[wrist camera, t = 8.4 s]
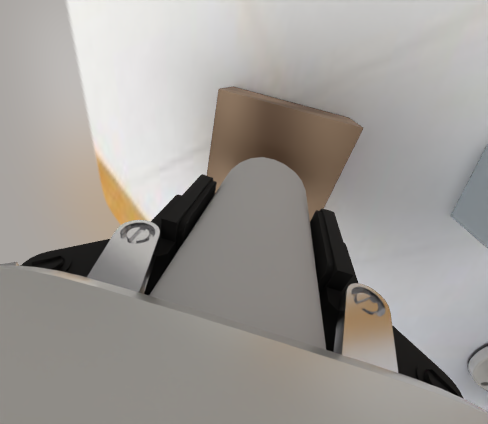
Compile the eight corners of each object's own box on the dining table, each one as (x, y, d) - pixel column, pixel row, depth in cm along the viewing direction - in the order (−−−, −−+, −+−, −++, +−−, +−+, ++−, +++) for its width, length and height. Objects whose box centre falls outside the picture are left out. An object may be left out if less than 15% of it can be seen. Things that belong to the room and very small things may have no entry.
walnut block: (348, 117, 17) (363, 128, 13) (304, 215, 21) (307, 240, 18) (233, 86, 17) (218, 89, 14) (215, 189, 22) (202, 209, 18)
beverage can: (220, 153, 12) (-88, 487, 2) (310, 153, 12) (441, 686, 1) (227, 224, 15) (94, 535, 5) (301, 229, 14) (329, 619, 4)
